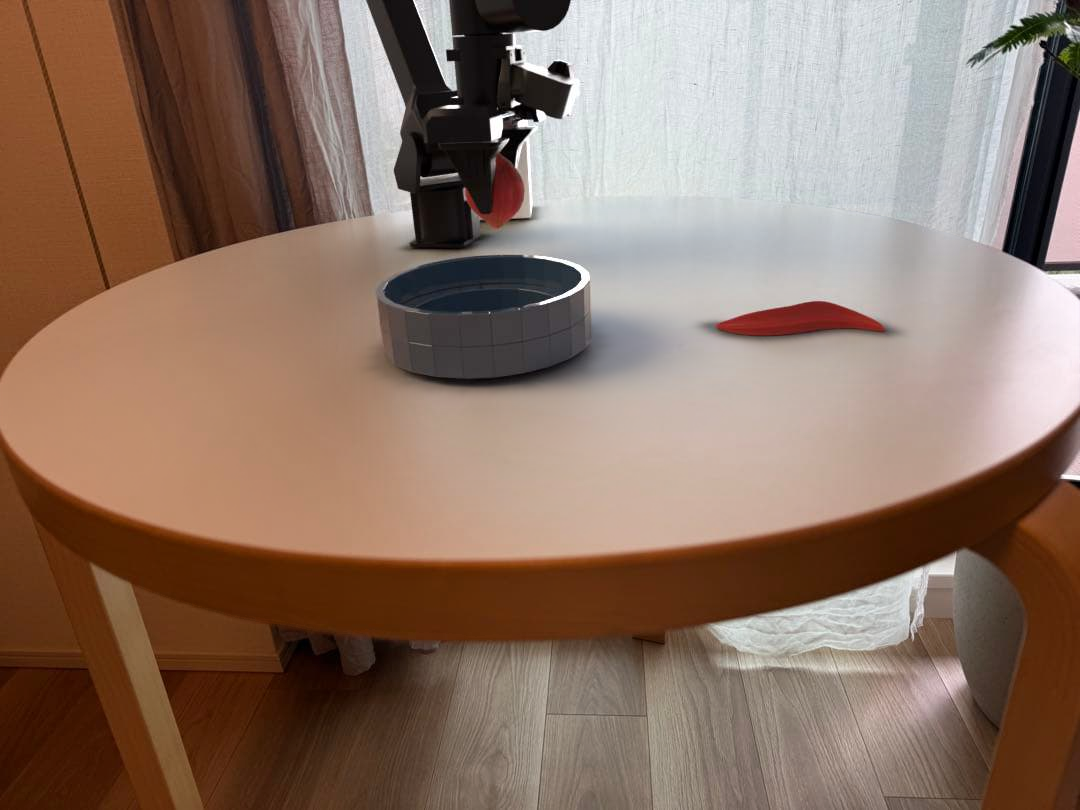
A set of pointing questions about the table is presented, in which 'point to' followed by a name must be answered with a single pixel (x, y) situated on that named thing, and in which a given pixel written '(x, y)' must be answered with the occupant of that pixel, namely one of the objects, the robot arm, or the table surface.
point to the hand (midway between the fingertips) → (496, 207)
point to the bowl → (485, 315)
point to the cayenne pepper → (799, 320)
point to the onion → (502, 194)
